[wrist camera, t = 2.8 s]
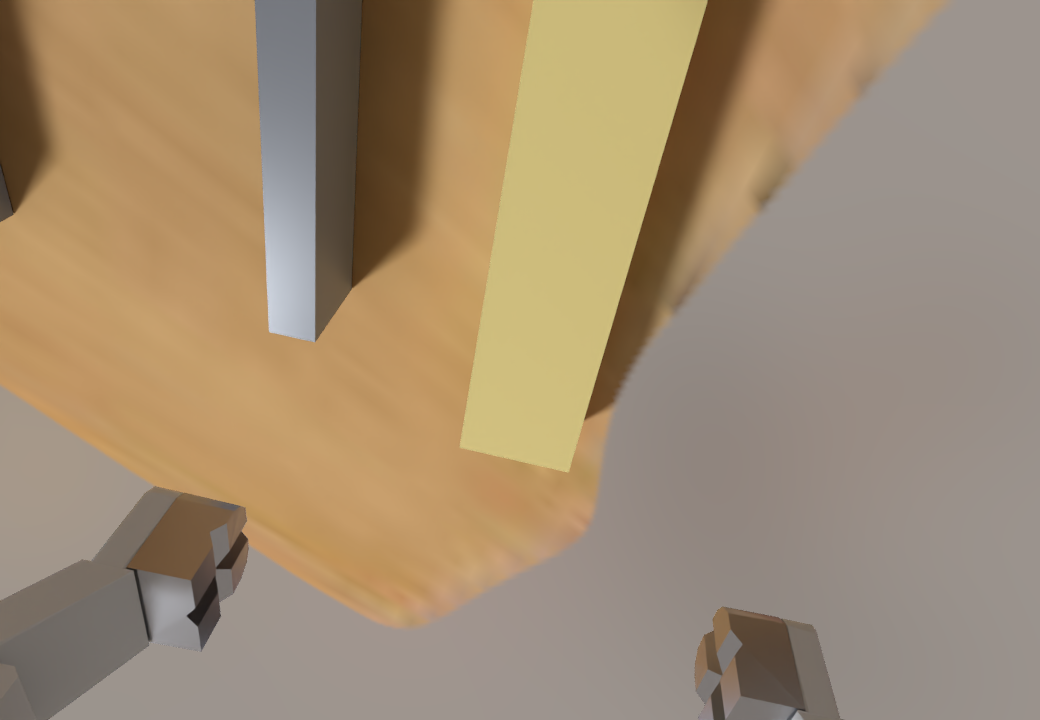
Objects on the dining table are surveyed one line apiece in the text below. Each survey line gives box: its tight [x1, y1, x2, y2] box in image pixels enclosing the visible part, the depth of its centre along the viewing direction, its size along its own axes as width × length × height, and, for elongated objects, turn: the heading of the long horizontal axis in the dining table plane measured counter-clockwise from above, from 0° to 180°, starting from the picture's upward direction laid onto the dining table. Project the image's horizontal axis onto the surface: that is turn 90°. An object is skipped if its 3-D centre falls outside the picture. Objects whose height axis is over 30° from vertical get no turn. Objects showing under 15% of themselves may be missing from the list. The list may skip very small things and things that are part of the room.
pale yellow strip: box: [460, 0, 708, 472], centre depth 22 cm, size 4×16×3 cm, turn 170°
